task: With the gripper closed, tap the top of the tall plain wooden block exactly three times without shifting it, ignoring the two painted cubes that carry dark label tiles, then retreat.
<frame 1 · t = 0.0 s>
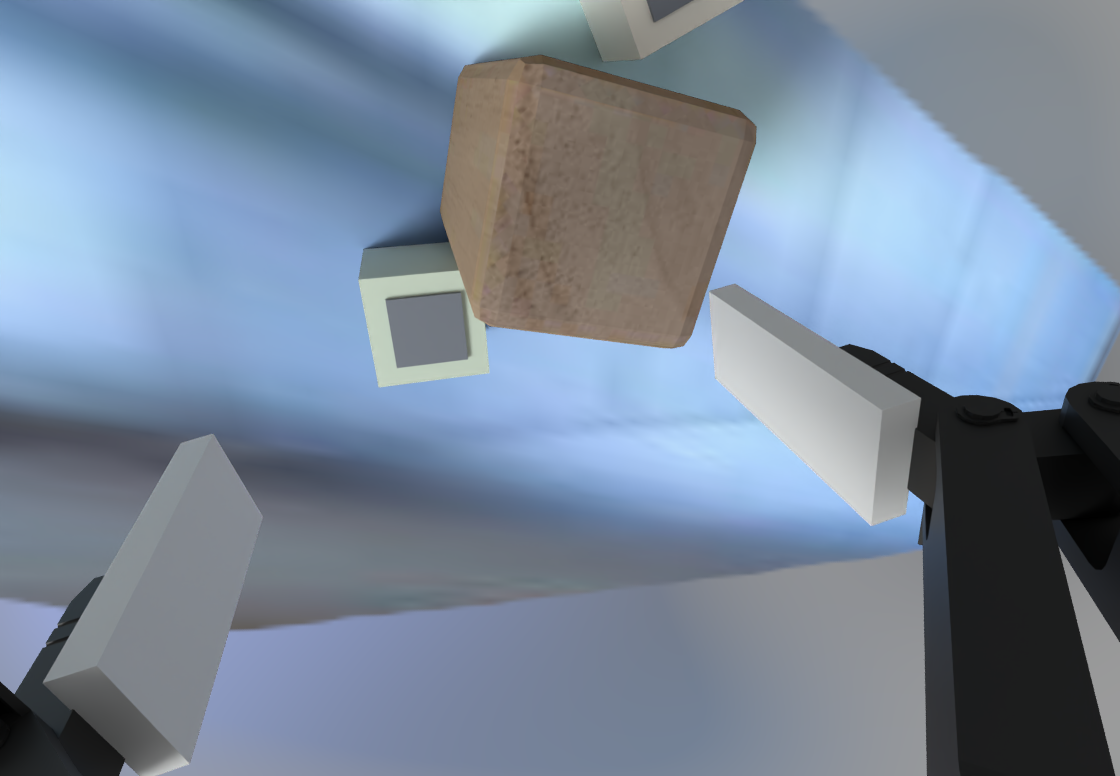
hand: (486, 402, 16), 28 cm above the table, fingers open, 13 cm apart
sage labelled cube: (423, 293, 42), on the table
wooden block: (521, 161, 40), on the table
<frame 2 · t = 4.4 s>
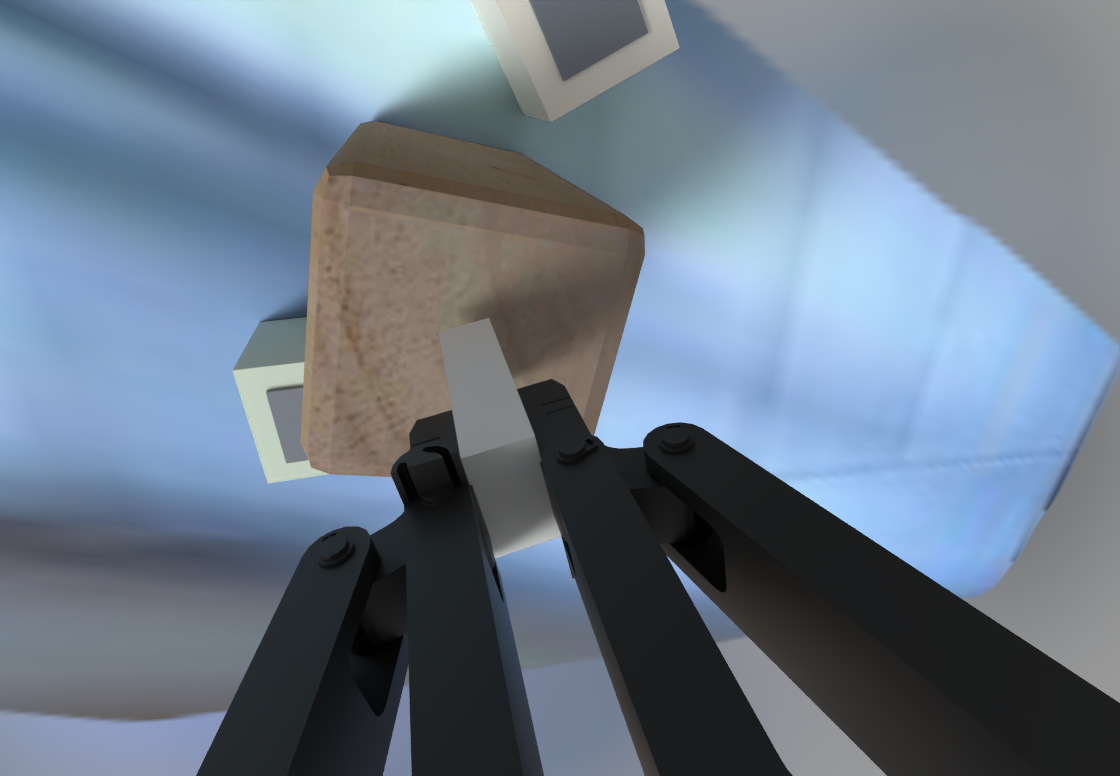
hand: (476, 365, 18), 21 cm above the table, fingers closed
sage labelled cube: (332, 366, 38), on the table
cream labelled cube: (549, 19, 32), on the table
wooden block: (436, 223, 36), on the table
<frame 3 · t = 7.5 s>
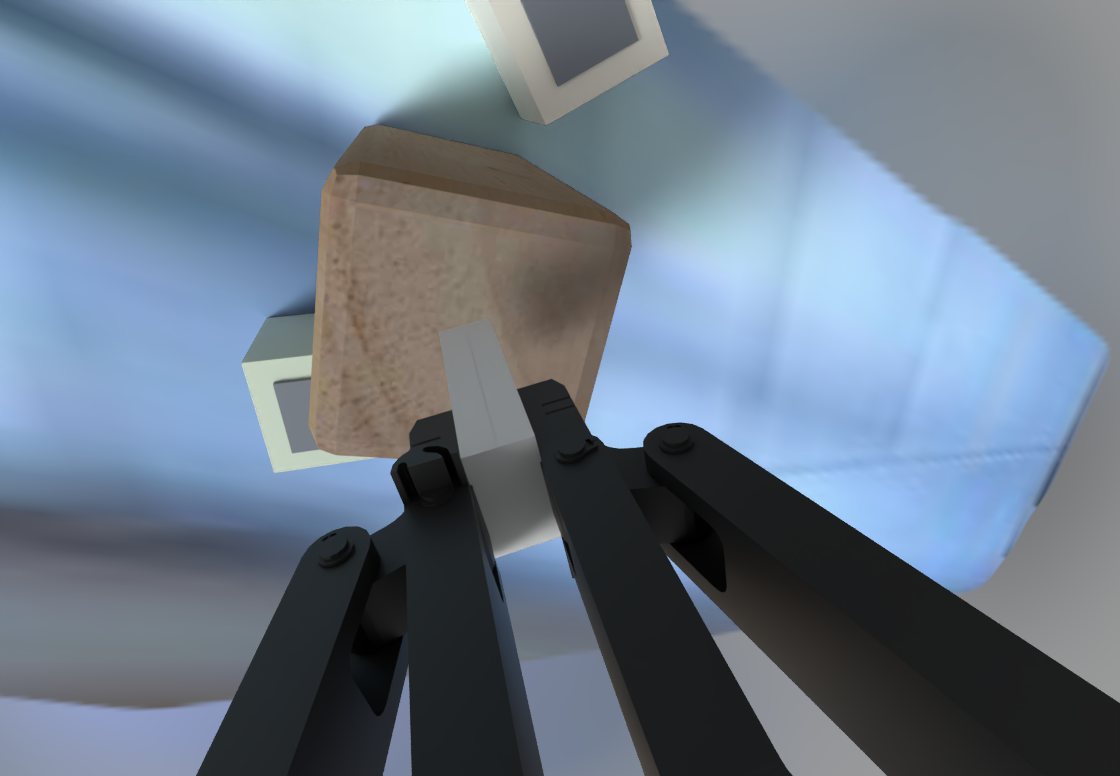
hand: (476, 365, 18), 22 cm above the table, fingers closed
sage labelled cube: (336, 361, 40), on the table
cream labelled cube: (545, 27, 34), on the table
wooden block: (437, 223, 37), on the table
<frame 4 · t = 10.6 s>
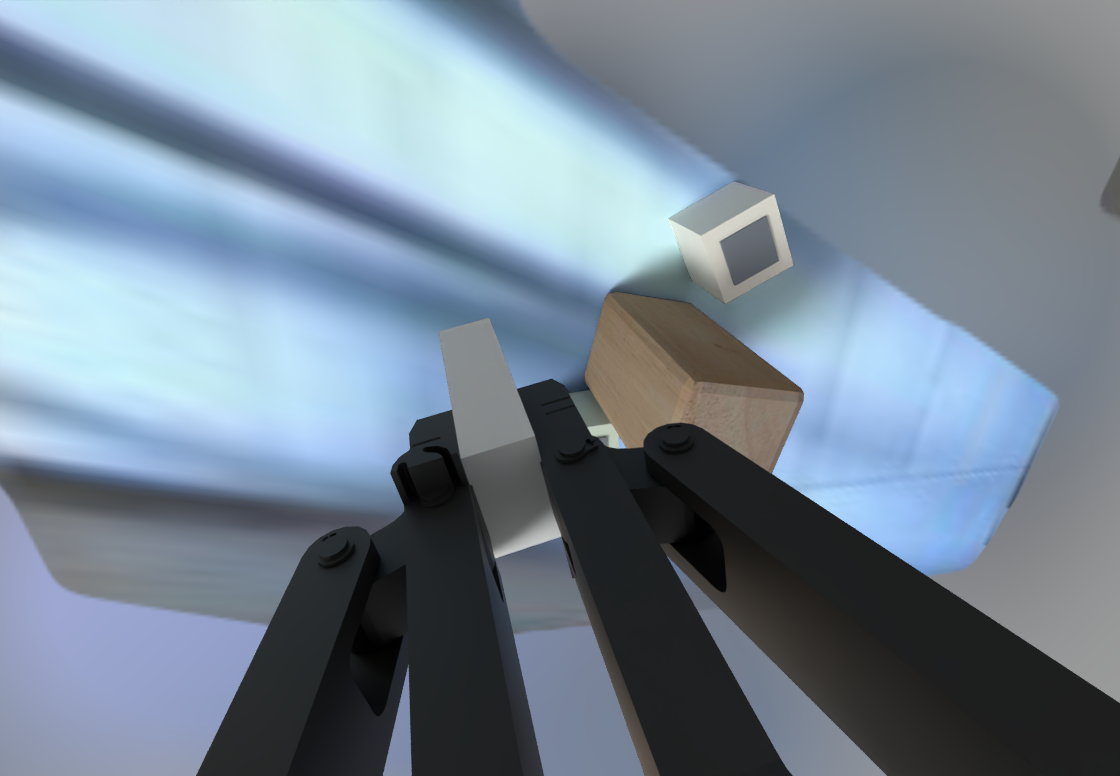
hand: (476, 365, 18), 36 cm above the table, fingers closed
sage labelled cube: (565, 422, 63), on the table
cream labelled cube: (711, 232, 57), on the table
wooden block: (635, 340, 61), on the table
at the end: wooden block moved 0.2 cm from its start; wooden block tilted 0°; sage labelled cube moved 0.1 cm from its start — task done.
